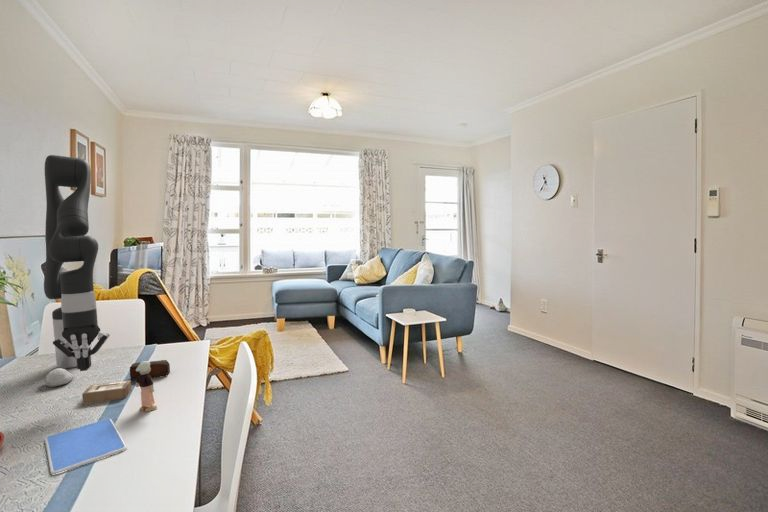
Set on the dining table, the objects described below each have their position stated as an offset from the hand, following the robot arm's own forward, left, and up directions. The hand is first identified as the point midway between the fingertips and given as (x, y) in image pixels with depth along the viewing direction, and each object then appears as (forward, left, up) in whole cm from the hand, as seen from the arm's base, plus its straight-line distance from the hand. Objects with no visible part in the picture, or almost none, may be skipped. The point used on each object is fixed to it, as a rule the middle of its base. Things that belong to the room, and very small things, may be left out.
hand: (84, 369), depth 109 cm
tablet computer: (+28, +8, -9) cm, 30 cm away
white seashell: (-18, -13, -9) cm, 24 cm away
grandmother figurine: (+13, +17, -9) cm, 23 cm away
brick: (-13, +13, -9) cm, 21 cm away
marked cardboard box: (0, 0, -7) cm, 7 cm away
